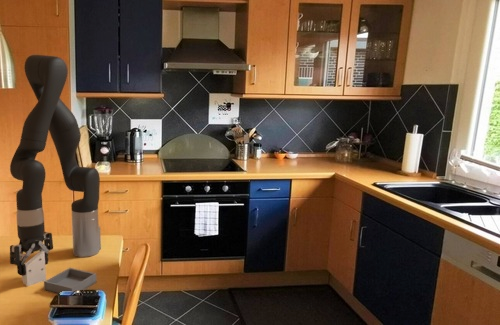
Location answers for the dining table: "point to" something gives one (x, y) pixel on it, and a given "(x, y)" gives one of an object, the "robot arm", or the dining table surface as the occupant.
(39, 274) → the white angled block
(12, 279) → the dining table surface
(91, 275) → the gray square tray
